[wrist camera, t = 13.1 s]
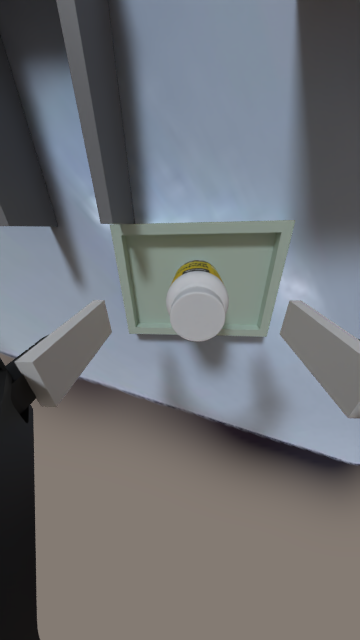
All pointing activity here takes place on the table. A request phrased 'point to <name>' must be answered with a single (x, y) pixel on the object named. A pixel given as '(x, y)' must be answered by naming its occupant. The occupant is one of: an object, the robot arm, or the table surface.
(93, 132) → the bay
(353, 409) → the robot arm
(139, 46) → the table surface
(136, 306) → the tray
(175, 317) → the supplement bottle
